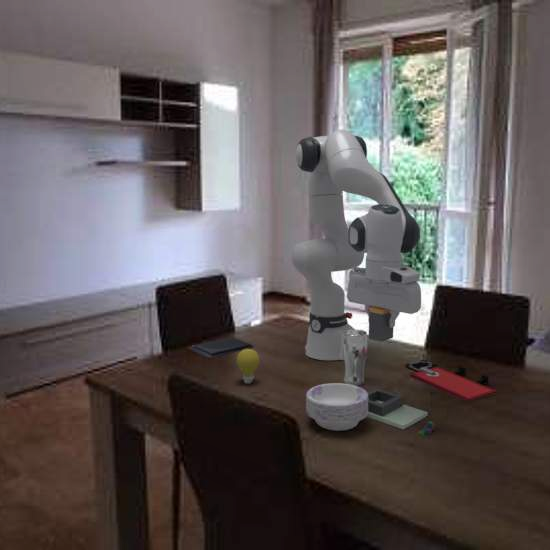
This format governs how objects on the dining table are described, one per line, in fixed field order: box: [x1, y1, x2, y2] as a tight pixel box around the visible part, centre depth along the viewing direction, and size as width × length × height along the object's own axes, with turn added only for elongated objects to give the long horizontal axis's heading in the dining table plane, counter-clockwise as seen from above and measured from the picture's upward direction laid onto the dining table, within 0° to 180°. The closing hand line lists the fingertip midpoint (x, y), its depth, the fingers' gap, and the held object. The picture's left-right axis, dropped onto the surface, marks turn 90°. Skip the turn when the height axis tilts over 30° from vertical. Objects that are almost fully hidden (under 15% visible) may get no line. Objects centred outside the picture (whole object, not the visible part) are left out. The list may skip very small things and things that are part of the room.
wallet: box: [186, 336, 255, 359], centre depth 208 cm, size 20×2×15 cm
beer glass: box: [343, 328, 368, 386], centre depth 174 cm, size 7×7×15 cm
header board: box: [366, 387, 428, 431], centre depth 155 cm, size 11×22×4 cm, turn 45°
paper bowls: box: [305, 382, 369, 432], centre depth 147 cm, size 15×15×8 cm
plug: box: [368, 307, 394, 342], centre depth 151 cm, size 5×4×8 cm
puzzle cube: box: [417, 420, 436, 436], centre depth 143 cm, size 4×3×2 cm, turn 143°
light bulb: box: [236, 348, 260, 384], centre depth 174 cm, size 7×7×10 cm
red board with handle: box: [405, 359, 498, 402], centre depth 177 cm, size 30×3×15 cm
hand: (381, 324), depth 151 cm, fingers closed on plug, 4 cm apart
